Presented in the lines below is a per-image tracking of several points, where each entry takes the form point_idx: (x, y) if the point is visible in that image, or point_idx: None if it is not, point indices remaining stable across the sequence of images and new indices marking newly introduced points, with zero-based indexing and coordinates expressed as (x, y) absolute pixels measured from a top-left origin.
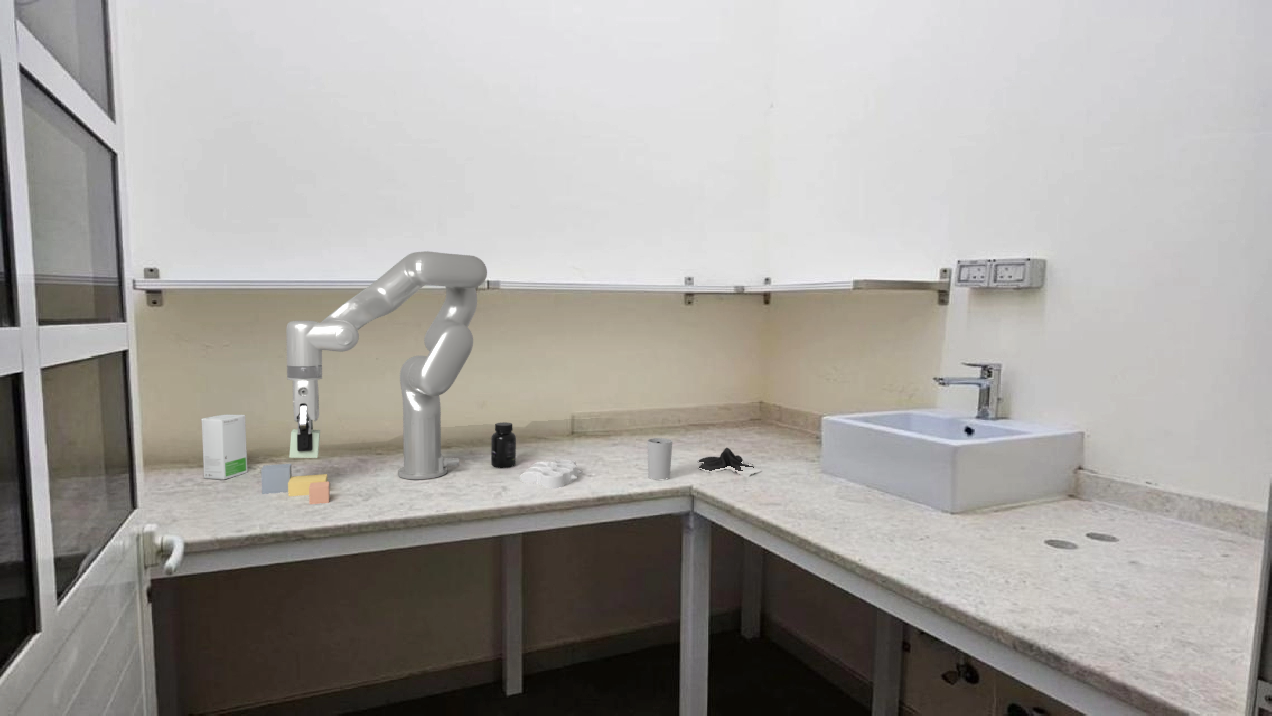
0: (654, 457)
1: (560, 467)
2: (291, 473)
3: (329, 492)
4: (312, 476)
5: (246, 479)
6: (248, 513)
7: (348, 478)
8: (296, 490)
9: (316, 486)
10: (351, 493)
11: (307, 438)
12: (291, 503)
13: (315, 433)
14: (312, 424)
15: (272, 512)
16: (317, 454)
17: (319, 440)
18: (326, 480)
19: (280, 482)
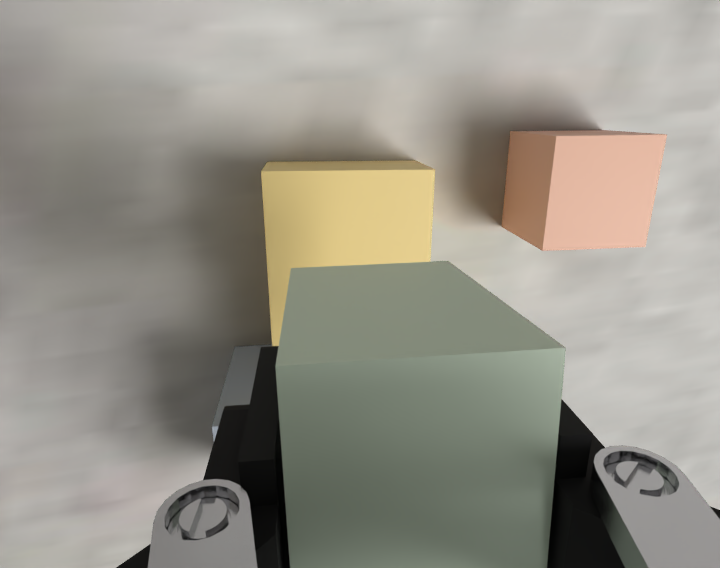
0: None
1: None
2: (230, 388)
3: (544, 132)
4: (306, 260)
5: (32, 563)
6: (604, 439)
7: (75, 32)
8: None
9: (640, 207)
10: (467, 2)
11: (593, 446)
12: (534, 306)
13: (558, 396)
14: (237, 556)
15: (635, 359)
16: (457, 269)
17: (294, 307)
18: (340, 167)
19: None
